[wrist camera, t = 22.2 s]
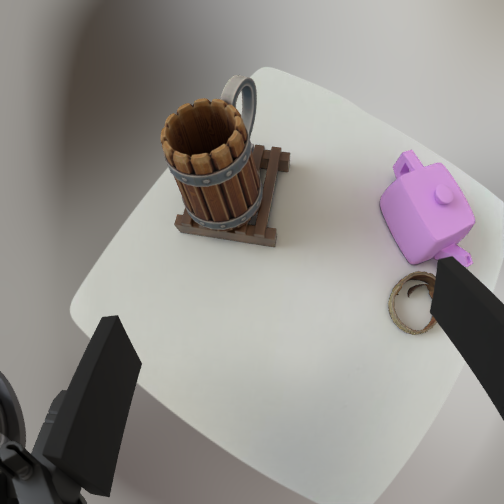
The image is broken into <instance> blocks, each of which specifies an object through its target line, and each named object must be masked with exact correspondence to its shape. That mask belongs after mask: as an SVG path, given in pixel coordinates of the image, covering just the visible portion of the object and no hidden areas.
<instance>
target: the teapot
mask: <svg viewBox="0 0 504 504" xmlns="http://www.w3.org/2000/svg"><path fill="white" fill-rule="evenodd" d="M393 169H394V173H395V176H396V180H395V181H394V182H393V183H392V184H391V185H390V186H389V187H388V188H387V189H386V190H385V192H384V193H383V195H382V196H381V199H380V207H381V211H382V213H383V216H384V218H385V220H386V223H387V225H388V227H389V229H390V231H391V233H392V235H393V237H394V239H395V241H396V243H397V244H398V246H399V248H400V249H401V251H402V253H403V254H404V256H405V258H406V259H407V260H408V262H409V263H410V264H412V265H414V264H419V263H422V262H424V261H427V260H429V259H431V258H433V257H434V259H436V260H438V259H441V258H446V257H450V256H453V257H454V258H455V259H456V260H457V261H459V262H460V263H461V264H462V265H463V266H465V267H468V266H470V265H471V264H473V261H472V258H471V255H470V253H468V252H466V251H465V250H463V249H462V248H460V247H459V246H458V245H456V244H457V243H459V242H460V241H461V240H462V239H463V238H464V237H465V236H466V235H467V234H468V232H469V231H470V230H471V228H472V227H473V225H474V224H475V217H474V215H473V212H472V210H471V208H470V206H469V204H468V202H467V200H466V198H465V196H464V194H463V192H462V191H461V189H460V187H459V186H458V184H457V183H456V181H455V180H454V178H453V177H452V175H451V174H450V173H449V171H448V170H447V169H446V167H445V166H444V165H443V164H442V163H435V164H432V165H428V166H425V167H424V166H423V165H422V163H421V162H420V160H419V159H418V157H417V156H416V155H415V153H414V152H413V150H409V151H406V152H402V154H401V155H400V157H399V158H398V160H397V161H396V163H395V164H394V166H393ZM409 170H410V171H411V172H410V171H409Z"/></svg>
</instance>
